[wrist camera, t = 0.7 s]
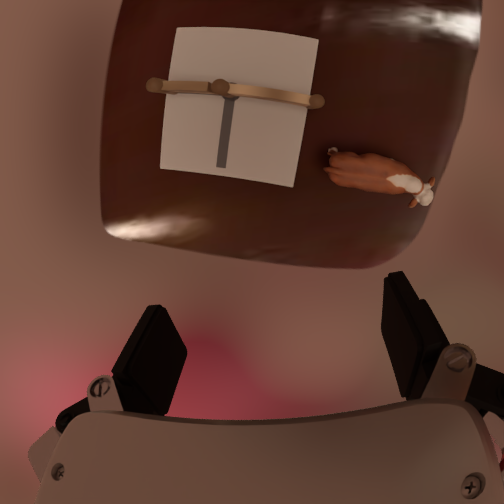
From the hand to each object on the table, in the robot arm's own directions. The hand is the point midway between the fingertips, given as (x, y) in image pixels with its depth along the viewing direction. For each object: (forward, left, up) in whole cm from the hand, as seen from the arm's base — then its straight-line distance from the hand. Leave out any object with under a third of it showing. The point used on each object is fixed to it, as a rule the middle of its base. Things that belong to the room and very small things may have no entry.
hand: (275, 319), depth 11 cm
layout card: (-9, -7, -25) cm, 28 cm away
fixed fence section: (-10, -11, -25) cm, 29 cm away
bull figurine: (-4, +11, -26) cm, 28 cm away
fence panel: (-10, -3, -24) cm, 26 cm away
